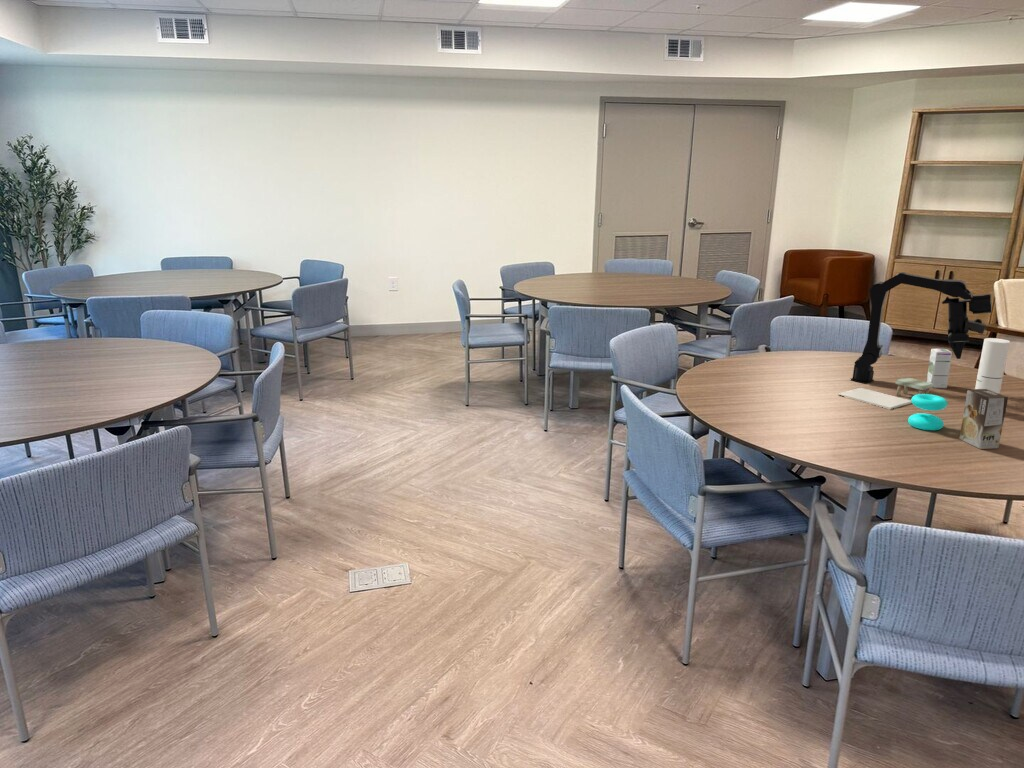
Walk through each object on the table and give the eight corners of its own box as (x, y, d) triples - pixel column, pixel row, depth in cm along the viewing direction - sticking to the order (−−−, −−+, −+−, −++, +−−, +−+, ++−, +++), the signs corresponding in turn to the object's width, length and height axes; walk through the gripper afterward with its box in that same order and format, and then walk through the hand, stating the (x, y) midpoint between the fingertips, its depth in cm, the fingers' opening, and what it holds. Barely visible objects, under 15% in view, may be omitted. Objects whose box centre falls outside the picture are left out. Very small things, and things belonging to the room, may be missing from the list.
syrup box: (947, 388, 260) (953, 351, 256) (930, 387, 261) (936, 351, 257) (941, 384, 265) (947, 348, 261) (924, 383, 267) (930, 348, 263)
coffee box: (999, 448, 201) (1010, 397, 196) (979, 449, 200) (989, 398, 196) (976, 437, 209) (986, 388, 205) (957, 438, 209) (966, 389, 204)
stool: (893, 395, 253) (896, 379, 251) (903, 392, 256) (905, 377, 254) (920, 401, 244) (923, 386, 243) (930, 398, 248) (933, 383, 246)
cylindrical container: (988, 414, 230) (1002, 343, 223) (966, 409, 236) (979, 339, 229) (1000, 411, 233) (1014, 341, 226) (978, 406, 239) (991, 337, 232)
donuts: (954, 401, 212) (922, 402, 212) (949, 431, 215) (917, 431, 215) (936, 392, 222) (905, 392, 222) (931, 421, 224) (901, 421, 225)
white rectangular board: (837, 395, 253) (838, 393, 253) (860, 389, 260) (860, 387, 260) (889, 409, 236) (890, 407, 236) (912, 402, 243) (912, 400, 243)
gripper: (985, 317, 235) (986, 360, 238) (983, 309, 250) (983, 350, 253) (947, 319, 241) (948, 361, 244) (947, 311, 257) (948, 351, 259)
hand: (958, 356), depth 250 cm, fingers open, 9 cm apart
